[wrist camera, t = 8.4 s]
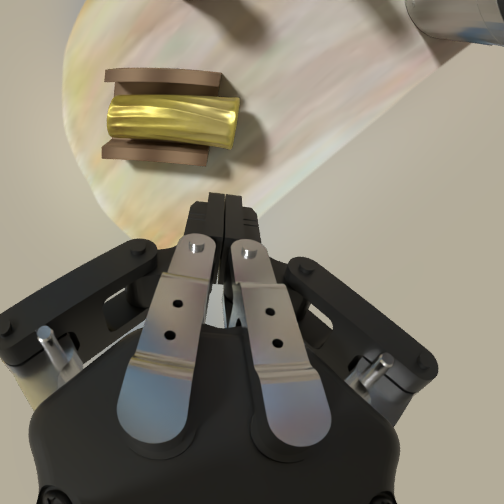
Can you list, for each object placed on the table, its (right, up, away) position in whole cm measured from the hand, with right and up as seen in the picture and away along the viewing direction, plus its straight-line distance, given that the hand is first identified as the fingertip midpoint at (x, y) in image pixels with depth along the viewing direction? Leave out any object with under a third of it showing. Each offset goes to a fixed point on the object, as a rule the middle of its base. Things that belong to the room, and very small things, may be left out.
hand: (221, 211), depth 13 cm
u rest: (-10, +16, +18) cm, 26 cm away
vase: (0, +12, +16) cm, 21 cm away
